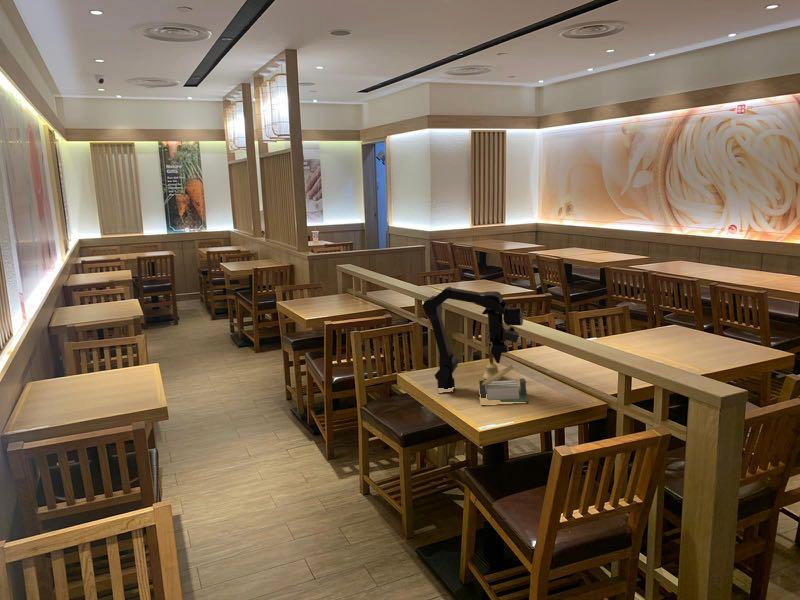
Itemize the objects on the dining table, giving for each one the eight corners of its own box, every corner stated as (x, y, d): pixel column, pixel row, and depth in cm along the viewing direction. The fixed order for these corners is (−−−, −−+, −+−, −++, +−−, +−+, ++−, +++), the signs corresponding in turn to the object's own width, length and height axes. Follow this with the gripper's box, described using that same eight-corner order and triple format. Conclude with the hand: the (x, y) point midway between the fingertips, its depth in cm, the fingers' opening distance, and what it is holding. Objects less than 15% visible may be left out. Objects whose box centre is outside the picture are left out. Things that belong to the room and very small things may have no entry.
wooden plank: (483, 387, 231) (482, 385, 231) (482, 384, 234) (481, 382, 234) (513, 368, 228) (512, 367, 228) (513, 365, 231) (511, 364, 231)
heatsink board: (480, 406, 227) (479, 390, 225) (478, 391, 240) (477, 376, 239) (528, 403, 225) (527, 387, 224) (523, 388, 239) (522, 373, 237)
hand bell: (491, 382, 248) (489, 346, 244) (478, 377, 255) (476, 342, 251) (506, 377, 252) (504, 341, 248) (493, 372, 259) (491, 337, 255)
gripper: (520, 330, 219) (522, 370, 223) (513, 316, 237) (515, 353, 241) (489, 332, 220) (492, 372, 224) (485, 318, 238) (488, 355, 242)
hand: (498, 362), depth 233 cm, fingers closed
